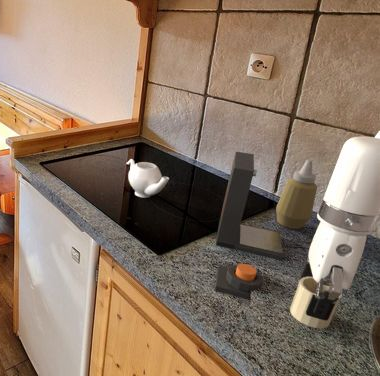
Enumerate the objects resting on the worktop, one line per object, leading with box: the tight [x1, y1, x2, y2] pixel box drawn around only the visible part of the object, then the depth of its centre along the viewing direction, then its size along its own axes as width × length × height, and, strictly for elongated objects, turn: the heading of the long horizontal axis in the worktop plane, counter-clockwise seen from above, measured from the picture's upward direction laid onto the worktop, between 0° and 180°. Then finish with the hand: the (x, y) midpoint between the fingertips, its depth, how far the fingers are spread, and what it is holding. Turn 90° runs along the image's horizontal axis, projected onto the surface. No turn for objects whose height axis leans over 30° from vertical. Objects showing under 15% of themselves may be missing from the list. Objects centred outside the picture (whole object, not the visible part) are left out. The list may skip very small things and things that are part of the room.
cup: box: [289, 277, 343, 329], centre depth 72 cm, size 6×6×8 cm
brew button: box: [235, 263, 258, 281], centre depth 81 cm, size 4×4×2 cm
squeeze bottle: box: [275, 159, 318, 230], centre depth 103 cm, size 8×8×18 cm
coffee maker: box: [215, 151, 284, 261], centre depth 95 cm, size 14×12×20 cm
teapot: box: [125, 158, 170, 199], centre depth 119 cm, size 10×20×9 cm, turn 21°
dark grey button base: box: [214, 264, 271, 301], centre depth 82 cm, size 10×8×3 cm
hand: (312, 299), depth 72 cm, fingers open, 9 cm apart
